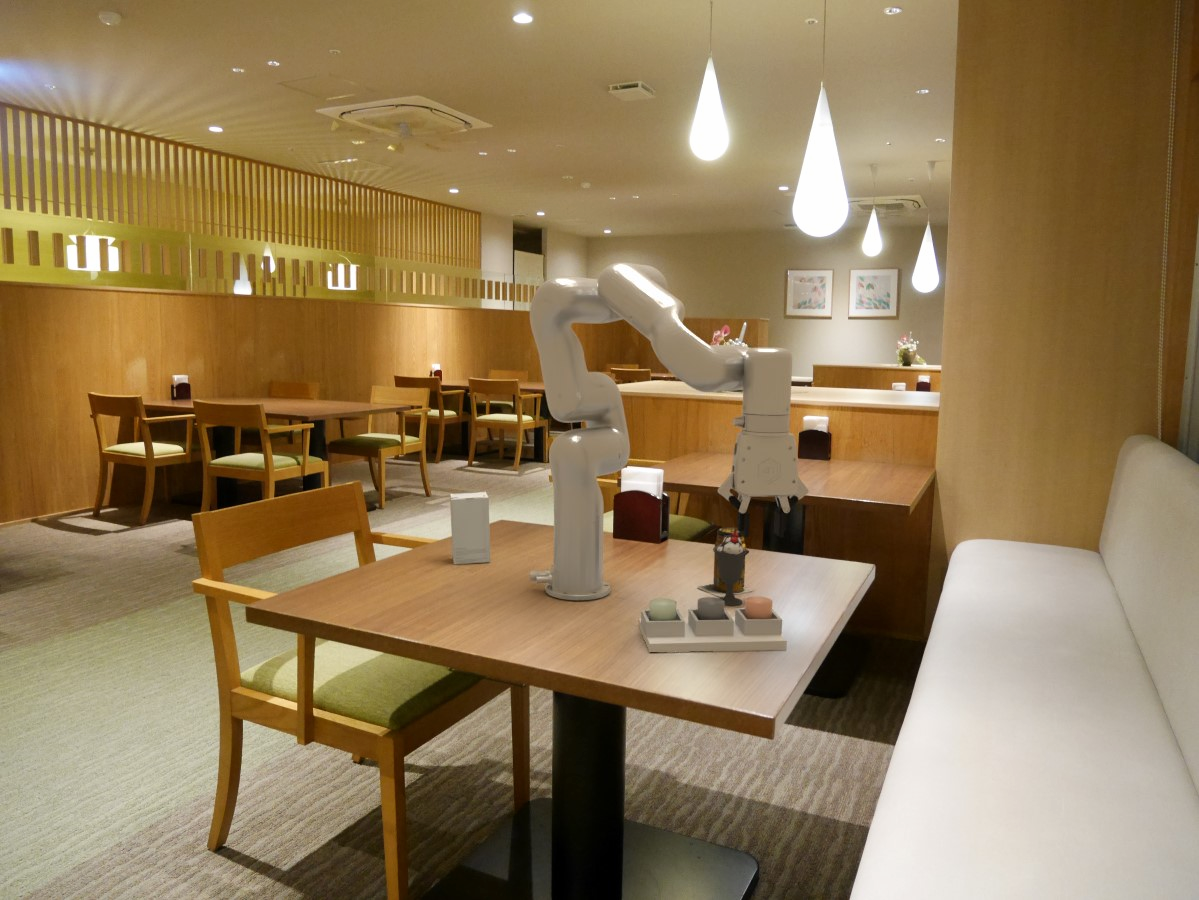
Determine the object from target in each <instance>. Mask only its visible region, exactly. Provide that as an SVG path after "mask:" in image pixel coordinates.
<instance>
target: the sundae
mask: <svg viewBox="0 0 1199 900" xmlns="http://www.w3.org/2000/svg"><path fill="white" fill-rule="evenodd" d="M735 528H736V529H735V531H736V530H737V527H735ZM735 531H734V533H732V535H728V536H727V535H725V536H724V539H723V542H722V544H721V545H720V546H716V547H715V546H714V547H713V548H712V551H713V553H716V554H717V559H718V569H719V575H720V578H721V579H722V581H724V582H725V583H726V585H727V592H726V595H725V596H724V597H718V598H719V599H722V600H724V601H725V606H726V607H738V606H741V605H742V604H743V600H742V599H741V598H738V597H736V596H735V594H733V585H734V584H735V583H736V582H738V581H739V579H740V578H741V575H742V571H743V564H744V559H745V560H746V556H747V555H748V554H749V553H750V550H748V549H747V547H746V548H744V547H743V545H742V543H741V540H740V538H739V537H738V533H736V532H735Z"/></svg>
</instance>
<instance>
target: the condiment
mask: <svg viewBox="0 0 1199 900" xmlns="http://www.w3.org/2000/svg"><path fill="white" fill-rule="evenodd" d="M736 528H737V527H721V528H718V529H717V533H716V534H717V536H716V541H715V543H714V547H716V546H720V545H721V544H722V542H723V539H724V536H725V535H727V536H728V535H732V533H734V531H735V529H736ZM735 532H736V533H738V537H739V538H740V540H741V543H742V545H743V547H744V548H746V549H747V547H746V544H745V538H744V537H743V536H742V535H741V534H740V531H738V530H736V531H735ZM713 553H714V554H713V555H714V557H713V559H714V561H713V562H714V563H713V583H710V584H706V585H699V586H697V588H698V589H700V590H702V591H705V592H706V593H709V594H710V595H714V596H717V597H718V598H722V597H725V595H726V592H727V585H726V583H725V582H724V581H722V579H721V578H720V575H719V569H718V559H717V554H716V553H715V552H713ZM745 568H746V558H745V559H744V564H743V571H742V575H741V578H740V579H739V581H738V582H736V583H735V584H734V585H733V594H734V595H740V594H745V593H746V594H747V593H750V592H753V591H754V589H750V588H748V587H745V577H746V576H745V574H746V569H745Z"/></svg>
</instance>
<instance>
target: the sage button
mask: <svg viewBox="0 0 1199 900" xmlns="http://www.w3.org/2000/svg"><path fill="white" fill-rule="evenodd" d="M648 604H649V605H648V607H649V608H648V610H649V620H650V621H676V609H677V601H676V600H675V599H672V598H669V597H668V598H667V597H655V598H652V599H650V600H649V603H648Z"/></svg>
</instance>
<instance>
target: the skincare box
mask: <svg viewBox="0 0 1199 900" xmlns="http://www.w3.org/2000/svg"><path fill="white" fill-rule="evenodd" d="M489 501H490V498H489V494H487V491H478V492H464V493H450V495H449V502H450V504H449V505H450V528H451V529H450V530H451V550H452V560H453V565H454V566H455V565H465V564H467V565H468V564H479V563H480V564H481V563H490V562H491V561H492V560H491V540H490V539H491V534H490V533H491V532H490V531H491V530H490V502H489Z"/></svg>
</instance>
